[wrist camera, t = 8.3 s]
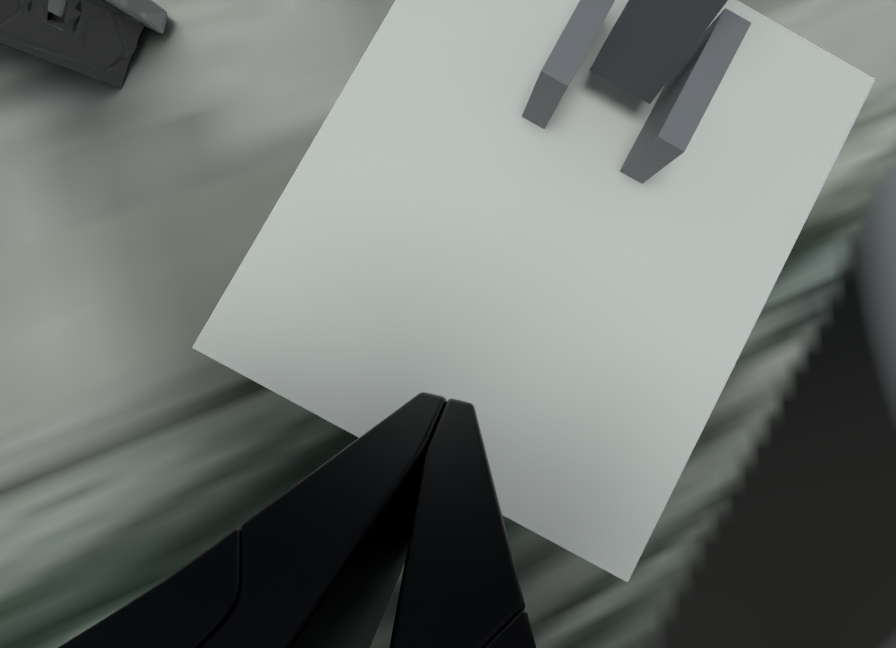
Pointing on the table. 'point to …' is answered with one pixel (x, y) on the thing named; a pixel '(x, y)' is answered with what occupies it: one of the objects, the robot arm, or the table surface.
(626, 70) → the handle
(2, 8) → the electrical switch
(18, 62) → the table surface
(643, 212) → the thin white panel
